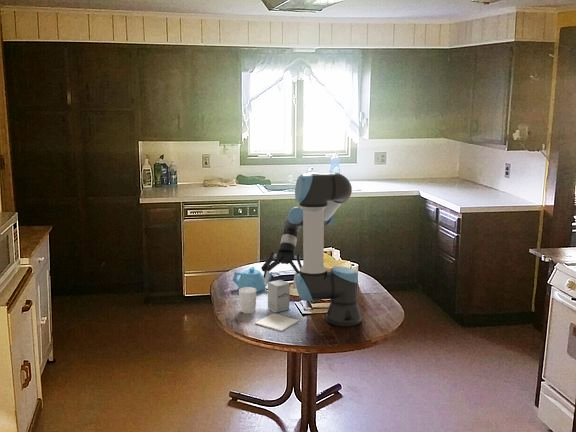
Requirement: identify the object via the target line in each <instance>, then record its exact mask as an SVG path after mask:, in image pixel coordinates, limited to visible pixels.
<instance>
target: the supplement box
mask: <svg viewBox="0 0 576 432" xmlns="http://www.w3.org/2000/svg"><path fill="white" fill-rule="evenodd" d="M290 285H291V284H290V282H288V281H285V280H283V279H277V280H272V281H269V282H268V284H267V309H269V310H271V311H272V312H275V313H279V312H283V311H288V310H290V288H291V287H290Z"/></svg>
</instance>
